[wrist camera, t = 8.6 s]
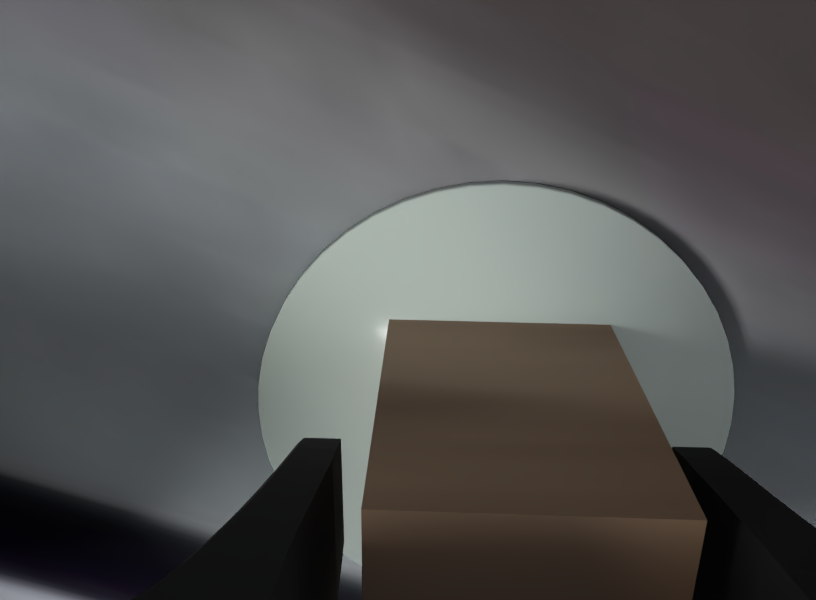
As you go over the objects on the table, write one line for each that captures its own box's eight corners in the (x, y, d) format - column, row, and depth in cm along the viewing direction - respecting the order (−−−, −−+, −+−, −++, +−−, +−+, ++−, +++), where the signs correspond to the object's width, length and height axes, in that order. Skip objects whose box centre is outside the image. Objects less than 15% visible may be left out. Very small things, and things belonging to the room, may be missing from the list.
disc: (691, 593, 17) (696, 606, 16) (276, 581, 17) (272, 594, 17) (766, 184, 13) (775, 190, 13) (246, 176, 14) (240, 182, 13)
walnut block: (588, 507, 16) (660, 761, 11) (388, 500, 16) (364, 750, 11) (610, 324, 14) (707, 520, 9) (389, 319, 14) (360, 508, 9)
